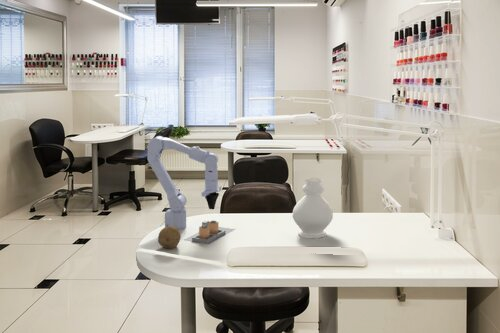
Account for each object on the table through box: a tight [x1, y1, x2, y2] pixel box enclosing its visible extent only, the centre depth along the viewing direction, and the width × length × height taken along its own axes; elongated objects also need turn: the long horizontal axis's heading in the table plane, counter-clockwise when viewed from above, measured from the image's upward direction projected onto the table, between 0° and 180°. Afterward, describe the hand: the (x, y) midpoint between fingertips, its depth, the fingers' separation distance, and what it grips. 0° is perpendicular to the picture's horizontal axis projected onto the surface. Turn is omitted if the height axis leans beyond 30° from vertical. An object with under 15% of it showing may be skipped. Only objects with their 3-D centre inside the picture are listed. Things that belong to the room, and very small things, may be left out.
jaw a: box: [198, 224, 210, 239], centre depth 223 cm, size 4×4×6 cm
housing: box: [183, 226, 236, 245], centre depth 231 cm, size 12×24×3 cm, turn 154°
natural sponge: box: [157, 226, 181, 250], centre depth 213 cm, size 9×9×10 cm
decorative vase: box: [292, 177, 334, 239], centre depth 234 cm, size 18×18×25 cm
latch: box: [201, 220, 210, 226], centre depth 237 cm, size 2×3×4 cm, turn 154°
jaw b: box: [208, 220, 220, 234], centre depth 230 cm, size 4×4×6 cm
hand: (211, 208), depth 241 cm, fingers closed
